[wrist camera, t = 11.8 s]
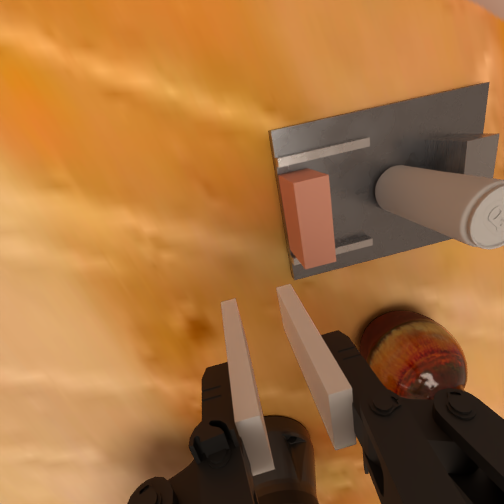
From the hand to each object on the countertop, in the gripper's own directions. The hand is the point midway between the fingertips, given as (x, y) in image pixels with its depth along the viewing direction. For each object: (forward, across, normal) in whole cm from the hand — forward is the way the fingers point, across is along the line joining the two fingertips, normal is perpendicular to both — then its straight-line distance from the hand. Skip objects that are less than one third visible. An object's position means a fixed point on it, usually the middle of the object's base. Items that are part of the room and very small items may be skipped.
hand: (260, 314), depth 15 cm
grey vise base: (+16, +18, 0) cm, 24 cm away
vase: (+17, +18, -21) cm, 32 cm away
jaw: (+15, +7, 0) cm, 17 cm away
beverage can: (+16, +18, 0) cm, 24 cm away
